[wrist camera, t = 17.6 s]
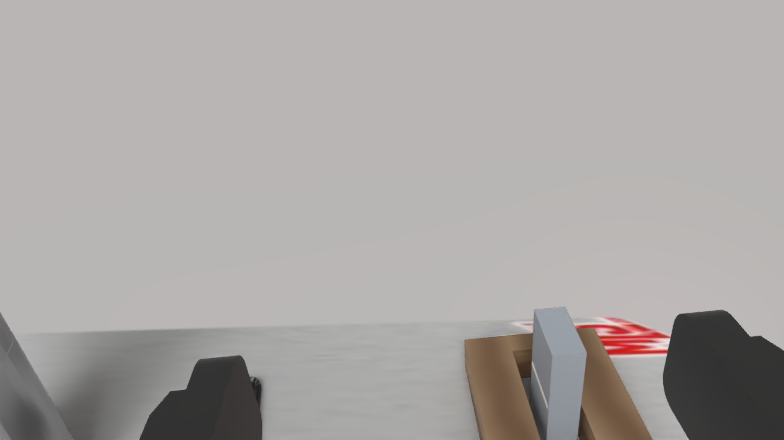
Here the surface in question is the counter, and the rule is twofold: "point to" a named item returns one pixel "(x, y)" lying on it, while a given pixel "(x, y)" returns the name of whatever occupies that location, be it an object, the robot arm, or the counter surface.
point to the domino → (556, 375)
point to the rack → (509, 401)
